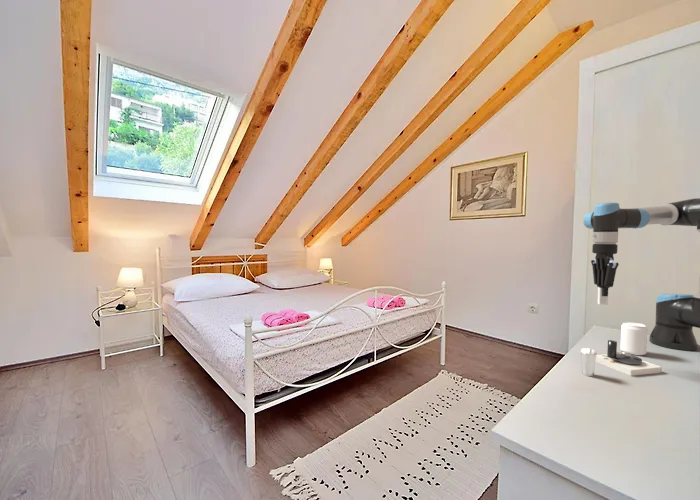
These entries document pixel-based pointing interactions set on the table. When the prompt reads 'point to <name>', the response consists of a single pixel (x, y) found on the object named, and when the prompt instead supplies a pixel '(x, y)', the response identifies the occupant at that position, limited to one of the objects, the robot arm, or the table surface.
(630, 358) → the dial
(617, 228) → the robot arm
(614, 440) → the table surface
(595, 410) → the table surface
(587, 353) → the milkshake
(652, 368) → the dial board
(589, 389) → the table surface
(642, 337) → the beverage can
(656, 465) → the table surface
